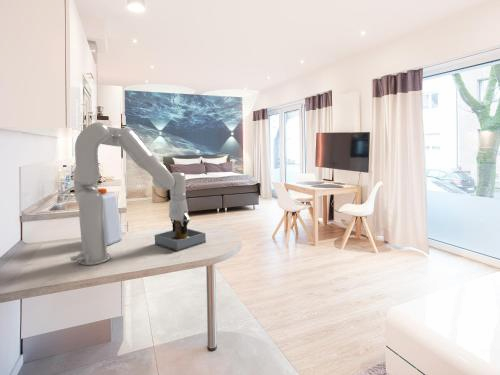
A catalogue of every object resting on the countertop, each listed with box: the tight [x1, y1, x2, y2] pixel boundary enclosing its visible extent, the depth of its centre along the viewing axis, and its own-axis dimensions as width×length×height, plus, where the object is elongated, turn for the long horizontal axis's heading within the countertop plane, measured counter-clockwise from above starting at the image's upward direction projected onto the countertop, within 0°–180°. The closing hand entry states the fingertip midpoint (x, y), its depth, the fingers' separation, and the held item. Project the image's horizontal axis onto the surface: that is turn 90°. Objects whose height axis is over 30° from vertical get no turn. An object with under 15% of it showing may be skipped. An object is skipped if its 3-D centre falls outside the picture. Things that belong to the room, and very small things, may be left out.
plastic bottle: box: [98, 187, 123, 247], centre depth 163 cm, size 15×15×28 cm
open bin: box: [154, 228, 207, 253], centre depth 161 cm, size 18×18×5 cm
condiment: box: [169, 219, 188, 241], centre depth 160 cm, size 7×8×12 cm
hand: (179, 232), depth 160 cm, fingers closed on condiment, 6 cm apart
